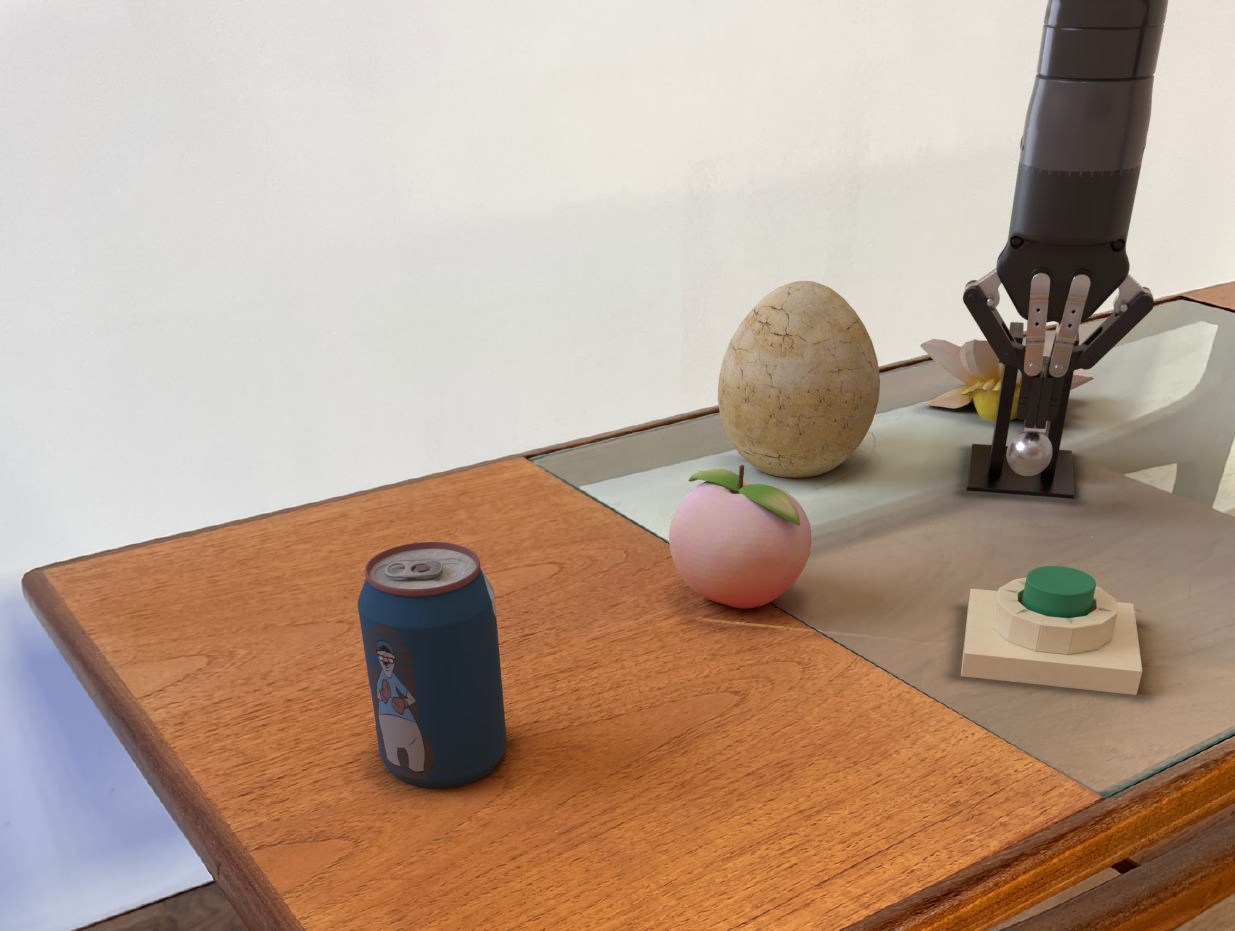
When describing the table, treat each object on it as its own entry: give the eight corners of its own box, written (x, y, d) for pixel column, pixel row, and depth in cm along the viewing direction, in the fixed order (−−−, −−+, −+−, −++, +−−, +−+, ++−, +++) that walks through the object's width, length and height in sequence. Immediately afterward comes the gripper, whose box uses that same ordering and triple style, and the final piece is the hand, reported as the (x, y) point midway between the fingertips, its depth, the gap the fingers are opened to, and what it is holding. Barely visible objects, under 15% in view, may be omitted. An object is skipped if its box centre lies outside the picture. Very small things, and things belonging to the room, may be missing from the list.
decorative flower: (1129, 398, 114) (1134, 287, 107) (1070, 462, 109) (1071, 350, 102) (976, 379, 123) (972, 276, 116) (915, 437, 118) (906, 333, 111)
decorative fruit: (640, 617, 85) (639, 471, 79) (709, 574, 90) (712, 434, 84) (761, 656, 80) (768, 504, 75) (826, 608, 86) (838, 462, 80)
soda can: (511, 731, 74) (495, 534, 67) (505, 799, 68) (487, 593, 61) (390, 734, 74) (362, 538, 67) (374, 803, 68) (342, 597, 61)
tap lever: (1047, 487, 93) (1054, 455, 91) (1001, 483, 94) (1007, 452, 91) (1059, 360, 99) (1066, 326, 96) (1016, 357, 100) (1022, 324, 97)
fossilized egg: (686, 484, 104) (689, 290, 96) (761, 438, 113) (770, 256, 104) (828, 515, 99) (845, 312, 90) (895, 464, 107) (917, 274, 98)
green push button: (1089, 595, 78) (1095, 568, 77) (1091, 624, 75) (1097, 597, 74) (1022, 589, 79) (1026, 562, 78) (1021, 617, 76) (1026, 590, 75)
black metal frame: (1071, 509, 98) (1102, 352, 92) (964, 501, 100) (987, 346, 93) (1069, 464, 106) (1097, 316, 99) (970, 457, 108) (991, 311, 101)
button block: (1126, 634, 82) (1140, 576, 79) (1134, 704, 75) (1149, 643, 72) (965, 618, 84) (974, 562, 82) (959, 685, 77) (968, 625, 75)
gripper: (971, 164, 80) (937, 436, 90) (1196, 168, 77) (1134, 449, 88) (976, 145, 86) (944, 403, 96) (1185, 148, 83) (1129, 414, 93)
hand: (1035, 425), depth 92 cm, fingers closed
